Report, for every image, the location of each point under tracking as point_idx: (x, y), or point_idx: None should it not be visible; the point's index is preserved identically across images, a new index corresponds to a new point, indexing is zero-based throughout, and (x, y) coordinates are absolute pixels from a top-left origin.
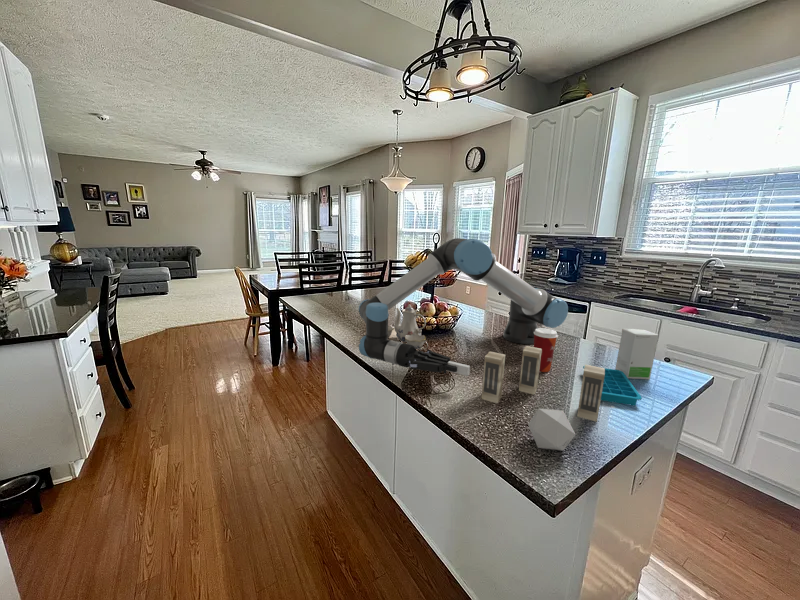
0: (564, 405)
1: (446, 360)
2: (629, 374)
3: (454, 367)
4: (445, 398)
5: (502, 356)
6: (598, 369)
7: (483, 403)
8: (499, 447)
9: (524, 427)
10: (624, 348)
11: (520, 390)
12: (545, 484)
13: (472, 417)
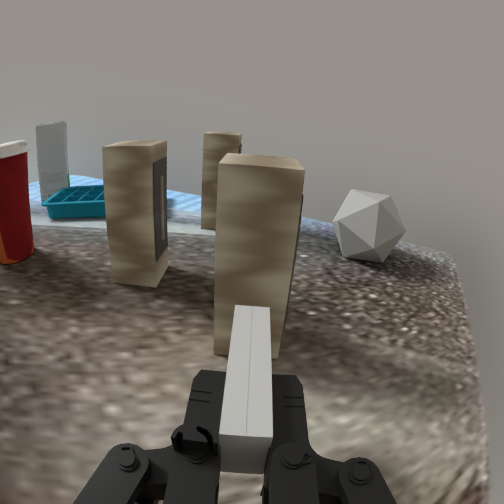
0: (197, 237)
1: (209, 468)
2: None
3: (295, 385)
4: (378, 462)
5: (255, 155)
6: (220, 132)
7: (305, 348)
8: (437, 294)
9: (342, 275)
10: (50, 153)
11: (157, 282)
12: (438, 258)
13: (405, 350)
